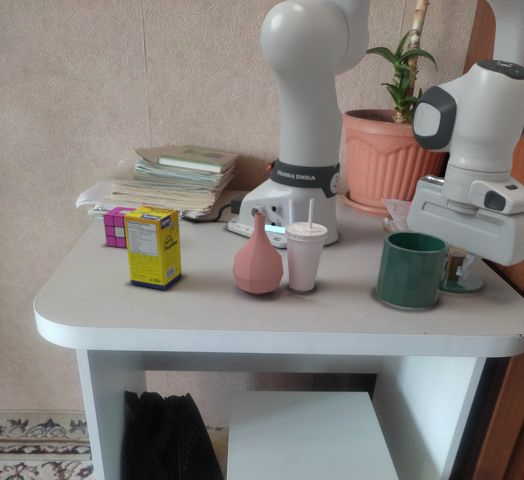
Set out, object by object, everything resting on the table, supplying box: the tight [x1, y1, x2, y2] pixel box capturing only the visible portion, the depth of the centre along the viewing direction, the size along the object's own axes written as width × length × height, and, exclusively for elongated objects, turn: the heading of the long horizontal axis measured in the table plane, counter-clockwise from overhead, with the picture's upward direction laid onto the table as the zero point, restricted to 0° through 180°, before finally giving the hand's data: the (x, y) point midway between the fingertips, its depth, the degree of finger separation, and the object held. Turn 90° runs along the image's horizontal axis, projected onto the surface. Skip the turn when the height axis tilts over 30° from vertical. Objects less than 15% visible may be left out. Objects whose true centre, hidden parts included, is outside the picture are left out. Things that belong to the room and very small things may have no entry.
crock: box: [375, 230, 451, 309], centre depth 77 cm, size 9×9×9 cm
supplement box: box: [124, 205, 183, 291], centre depth 79 cm, size 6×6×11 cm
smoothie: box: [284, 199, 328, 292], centre depth 77 cm, size 6×6×14 cm
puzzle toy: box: [102, 206, 138, 249], centre depth 94 cm, size 6×6×6 cm
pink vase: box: [232, 213, 284, 296], centre depth 76 cm, size 8×8×12 cm
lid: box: [440, 251, 484, 294], centre depth 83 cm, size 10×10×5 cm
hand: (452, 273), depth 84 cm, fingers closed on lid, 2 cm apart
